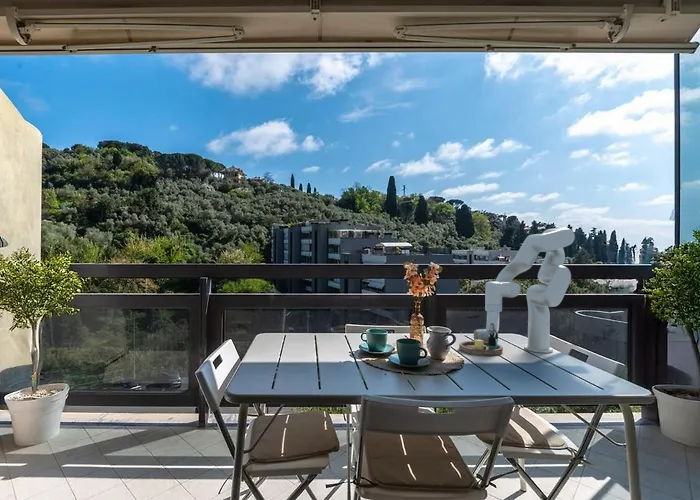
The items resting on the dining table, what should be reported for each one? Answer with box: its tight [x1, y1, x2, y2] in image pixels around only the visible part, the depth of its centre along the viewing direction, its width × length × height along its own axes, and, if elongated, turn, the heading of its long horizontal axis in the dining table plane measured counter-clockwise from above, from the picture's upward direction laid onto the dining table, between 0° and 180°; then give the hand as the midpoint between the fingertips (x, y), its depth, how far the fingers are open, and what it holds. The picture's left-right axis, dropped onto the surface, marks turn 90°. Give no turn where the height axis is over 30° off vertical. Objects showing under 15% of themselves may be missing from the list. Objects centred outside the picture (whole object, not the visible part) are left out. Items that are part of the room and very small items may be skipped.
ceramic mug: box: [473, 328, 489, 342], centre depth 211 cm, size 11×8×8 cm
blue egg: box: [488, 339, 499, 350], centre depth 195 cm, size 4×4×5 cm
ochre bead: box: [475, 340, 484, 350], centre depth 192 cm, size 4×4×5 cm
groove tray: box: [458, 340, 504, 357], centre depth 197 cm, size 19×19×2 cm
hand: (493, 343), depth 195 cm, fingers open, 9 cm apart
